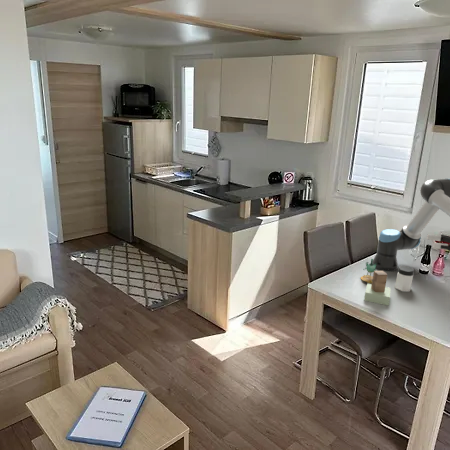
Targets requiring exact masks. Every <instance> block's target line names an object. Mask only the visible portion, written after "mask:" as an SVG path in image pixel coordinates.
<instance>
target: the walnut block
mask: <svg viewBox="0 0 450 450" xmlns="http://www.w3.org/2000/svg"><path fill="white" fill-rule="evenodd" d="M372 276H373V279H372V283H371V284H372V286H371V288H372V289H373V290H374V291H375V292H385V287H387V279H388V274H387V272H385V270H376V271H374V272H372Z"/></svg>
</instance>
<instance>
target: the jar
mask: <svg viewBox="0 0 450 450" xmlns="http://www.w3.org/2000/svg"><path fill="white" fill-rule="evenodd" d="M414 274H415V269H414V268H413V267H412V266H406V265H399V266H398V267H397V274H396V279H395V284H394V289H396V290H399V291H400V292H411V289H412V285H413V279H414Z"/></svg>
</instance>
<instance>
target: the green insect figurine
mask: <svg viewBox="0 0 450 450" xmlns="http://www.w3.org/2000/svg"><path fill="white" fill-rule="evenodd" d="M373 259H374V258H371V260H370V263H369V261H366V262H365V268H363V271H365V270H366V271H367V273H366V274H363V275H362V276H360V279H361V280H362V281H363V282H366V283H367V284H372V279H373V275H372V274H373V273H374V271H377V270H376V268H375V267H376V265H377V263H375V264H376V265H374V264H372V263H373ZM369 273H370V274H369Z"/></svg>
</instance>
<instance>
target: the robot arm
mask: <svg viewBox="0 0 450 450" xmlns="http://www.w3.org/2000/svg"><path fill="white" fill-rule="evenodd" d="M419 191H420V195H421V196H420V197H421V198H422V199H423V201H424V202H423V204H422V205H421V207H419V209H418V211H417V212H416V213H415V215H414V216H413V217H412V218H411V220H410V222H409V223H408V224H405V225H404V226H403V227H402V228H401V229H400V230H398V229H394V228H393V229H392V228H387V229H383V230H381V231H380V233H379V236H378V241H377V242H378V243H377V248H376V254H375V255H374V258H372V259H373V263H372V264H374V265H376V264H375V263H377V265H376V267H375V269H378V270H380V271H384V272H385V271H386V272H392V271H393V272H394V271H398V268H399V265H398V258H397V255H398V251H403V250H404V251H405V250H413V249H416V248H418V247H419V245H420V244H421V242H422V241H421V239H422V231H424V229H425V228H426V226H427V225H428V224H429V223H430V221H431V220H433V218H434V216H435V215H436V214H437V213H438V211H439V210H441V212H443V213H444V214H445V215H447V216H449V217H450V178H438V179H437V178H436V179H434V178H432V179H427V180H426V181H425V182H423V183H422V185H421V187H420V190H419ZM426 241H437V242H433V245H432V249H437V250H447V251H448V252H450V235H447V234H446V235H445V234H440V235H438V234H437V235H436V234H427V236H426ZM440 242H441V243H440ZM442 242H444V243H442Z"/></svg>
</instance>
